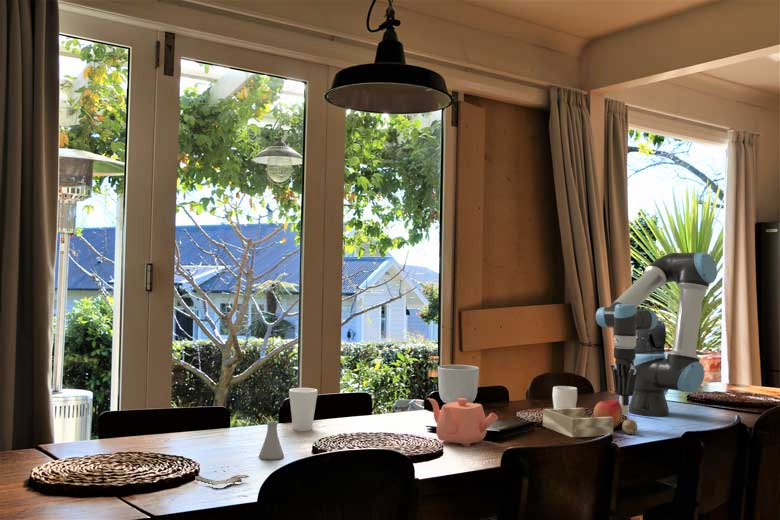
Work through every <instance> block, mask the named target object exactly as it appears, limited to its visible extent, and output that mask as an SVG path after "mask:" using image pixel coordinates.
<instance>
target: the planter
mask: <svg viewBox="0 0 780 520" xmlns="http://www.w3.org/2000/svg"><path fill="white" fill-rule="evenodd" d="M479 374H480V367H478V366H475V365H466V364H442V365H438V366H437V379H438V380H437V382H438V393H439V394H438V395H439V397H440V400H442V402H443V403H444V404H447V403H452V402H458V401H457V399H458V398H465V399H468V400H467V403H474V401H475V399H476V398H477V394H478V387H479V386H478V384H479Z"/></svg>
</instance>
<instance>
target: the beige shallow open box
mask: <svg viewBox="0 0 780 520" xmlns="http://www.w3.org/2000/svg"><path fill="white" fill-rule="evenodd" d="M613 418H614V417H594V416H593V417H585V407H576V408H560V409H554V408H543V409H542V427H545V428H547V429H549V430H552V431H554V432H557V433H559V434H562V435H565V436H567V437H570V438H587V437H588V438H589V437H603V436H602V435H605V434H608V433H613V434H614V428H613Z"/></svg>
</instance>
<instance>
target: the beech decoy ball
mask: <svg viewBox="0 0 780 520" xmlns="http://www.w3.org/2000/svg"><path fill="white" fill-rule="evenodd" d="M621 428H622V430H623V432H624V433H625V434H627V435H634V434H636V432H637V431H638V428H639V427H638V424H637V422H636V421H635V420H634V419H632V418H631V419H630V418H628V419H626V420H624V421H623V423H622V425H621Z"/></svg>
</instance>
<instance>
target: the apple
mask: <svg viewBox="0 0 780 520" xmlns="http://www.w3.org/2000/svg"><path fill="white" fill-rule="evenodd" d="M593 417H614V418H613V429H615V428H616V427H618V426H619V424H620V423H621V421H622V418H623V415H622V408H621V405H620V403H619V401H617V400H611V399H610V400H606V401H605V400H602V401H599V402H597V403H596V405H595V406H594V409H593Z"/></svg>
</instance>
